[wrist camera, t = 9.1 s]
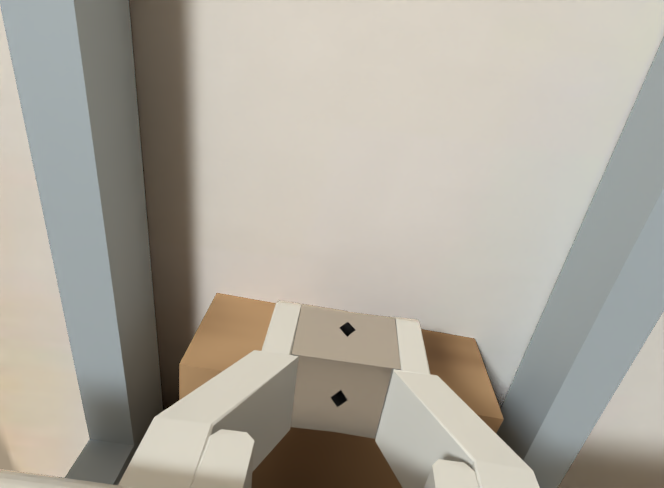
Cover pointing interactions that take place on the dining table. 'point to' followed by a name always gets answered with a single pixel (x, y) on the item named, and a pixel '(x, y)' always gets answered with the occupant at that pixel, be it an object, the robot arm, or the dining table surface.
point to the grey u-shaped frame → (135, 265)
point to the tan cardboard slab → (316, 445)
